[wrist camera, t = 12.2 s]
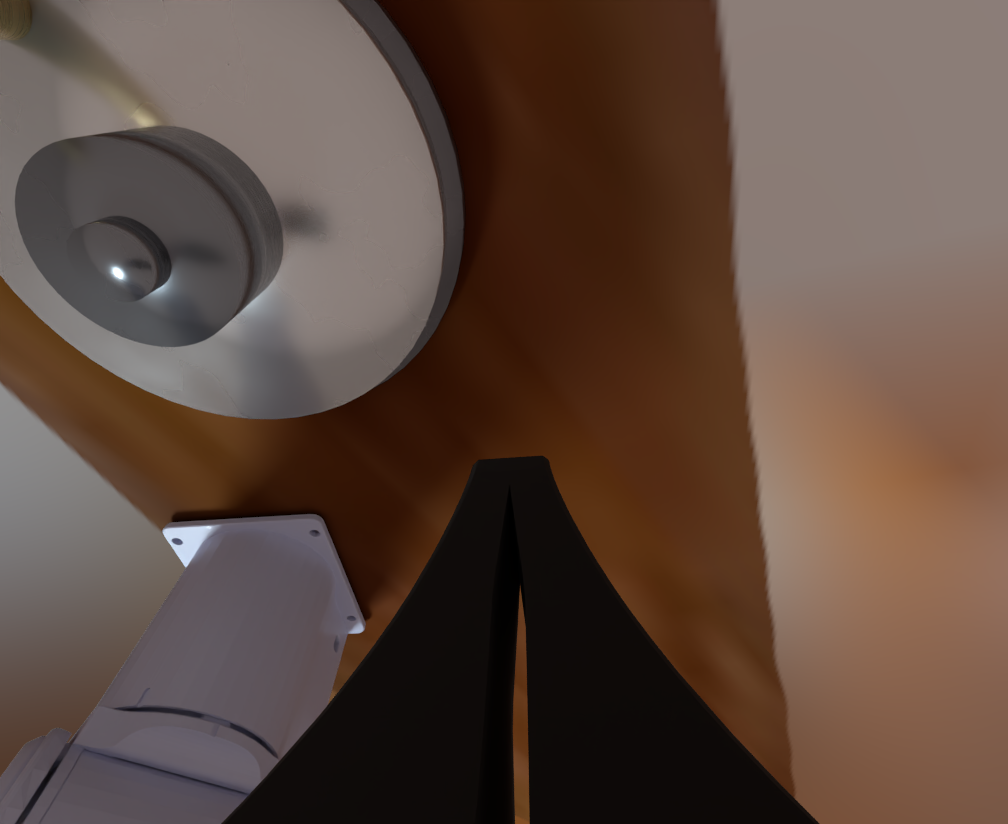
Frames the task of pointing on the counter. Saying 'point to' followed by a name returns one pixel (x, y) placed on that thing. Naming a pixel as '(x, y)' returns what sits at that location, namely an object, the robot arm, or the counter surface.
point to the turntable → (277, 163)
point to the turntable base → (445, 149)
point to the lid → (149, 231)
